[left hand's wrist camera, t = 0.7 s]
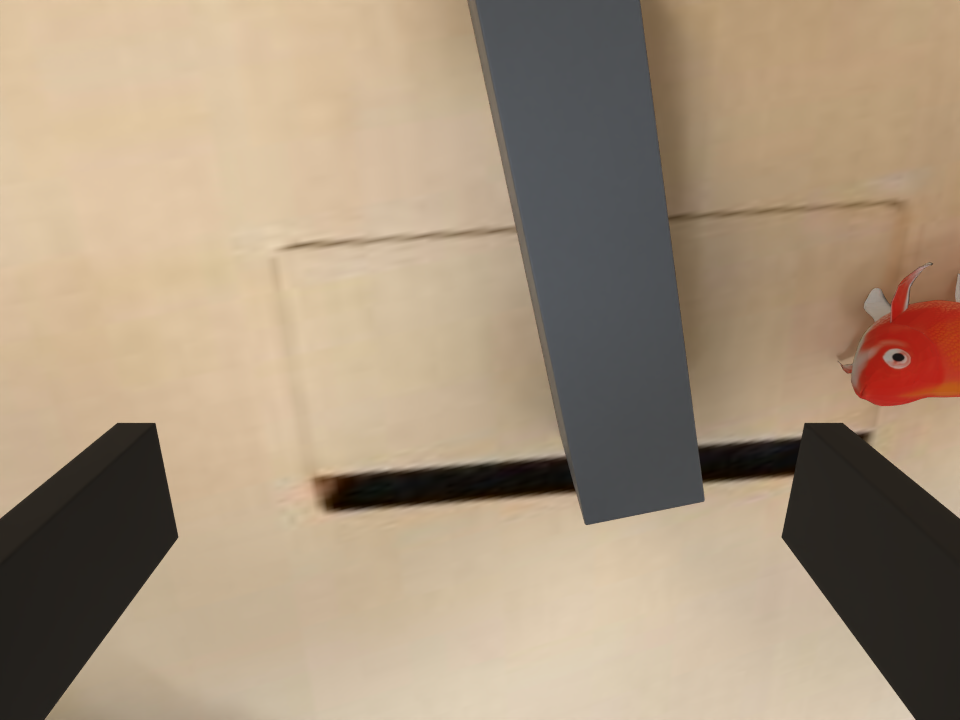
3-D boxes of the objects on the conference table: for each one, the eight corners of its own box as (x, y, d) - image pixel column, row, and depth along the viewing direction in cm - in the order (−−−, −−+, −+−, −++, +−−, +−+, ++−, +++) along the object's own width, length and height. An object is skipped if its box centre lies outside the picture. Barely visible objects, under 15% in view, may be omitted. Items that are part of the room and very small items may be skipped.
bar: (652, 416, 35) (705, 502, 27) (560, 436, 36) (585, 526, 28) (577, -68, 27) (620, -153, 19) (459, -36, 28) (452, -106, 19)
